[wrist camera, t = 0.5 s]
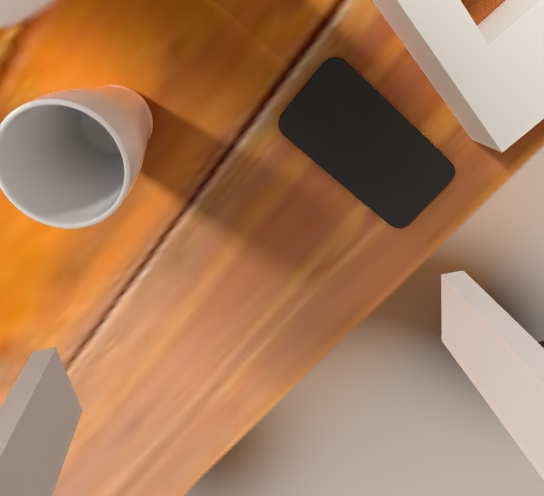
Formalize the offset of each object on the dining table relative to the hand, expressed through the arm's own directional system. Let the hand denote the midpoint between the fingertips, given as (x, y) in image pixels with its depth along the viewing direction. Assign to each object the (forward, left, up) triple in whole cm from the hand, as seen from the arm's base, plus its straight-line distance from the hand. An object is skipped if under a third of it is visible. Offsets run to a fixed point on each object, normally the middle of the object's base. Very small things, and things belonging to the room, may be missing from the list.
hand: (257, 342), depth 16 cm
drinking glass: (-9, -4, -26) cm, 28 cm away
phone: (+7, +9, -26) cm, 29 cm away
